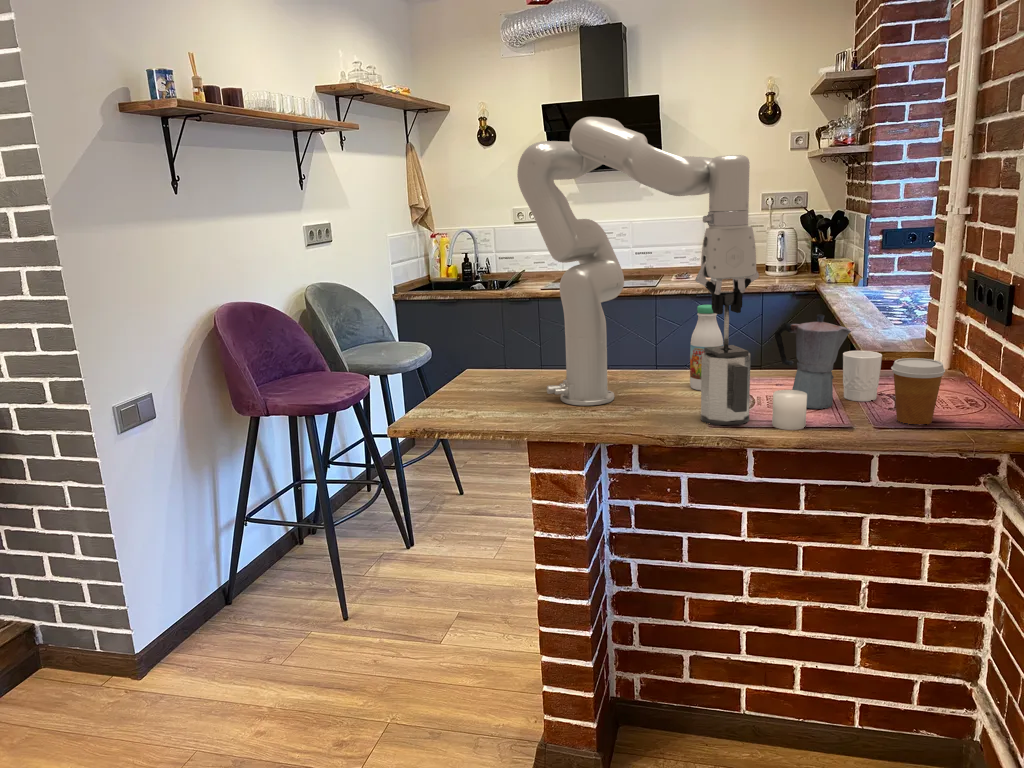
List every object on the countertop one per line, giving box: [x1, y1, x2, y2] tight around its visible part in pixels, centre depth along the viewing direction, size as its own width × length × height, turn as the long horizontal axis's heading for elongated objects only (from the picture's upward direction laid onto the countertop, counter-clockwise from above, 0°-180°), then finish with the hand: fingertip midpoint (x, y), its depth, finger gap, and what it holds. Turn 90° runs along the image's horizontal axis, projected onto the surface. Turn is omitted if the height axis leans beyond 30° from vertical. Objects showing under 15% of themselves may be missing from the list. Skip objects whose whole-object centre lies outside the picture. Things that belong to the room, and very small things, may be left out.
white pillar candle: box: [771, 389, 807, 431], centre depth 160 cm, size 6×6×7 cm
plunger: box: [709, 290, 743, 358], centre depth 162 cm, size 7×7×14 cm
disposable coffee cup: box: [890, 357, 946, 425], centre depth 158 cm, size 10×10×12 cm
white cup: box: [842, 350, 883, 402], centre depth 177 cm, size 8×8×10 cm
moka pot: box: [774, 313, 852, 410], centre depth 172 cm, size 10×15×20 cm, turn 78°
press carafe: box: [700, 344, 752, 426], centre depth 164 cm, size 10×12×15 cm
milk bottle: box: [689, 304, 724, 391], centre depth 191 cm, size 8×8×20 cm
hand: (726, 311), depth 161 cm, fingers closed on plunger, 3 cm apart
